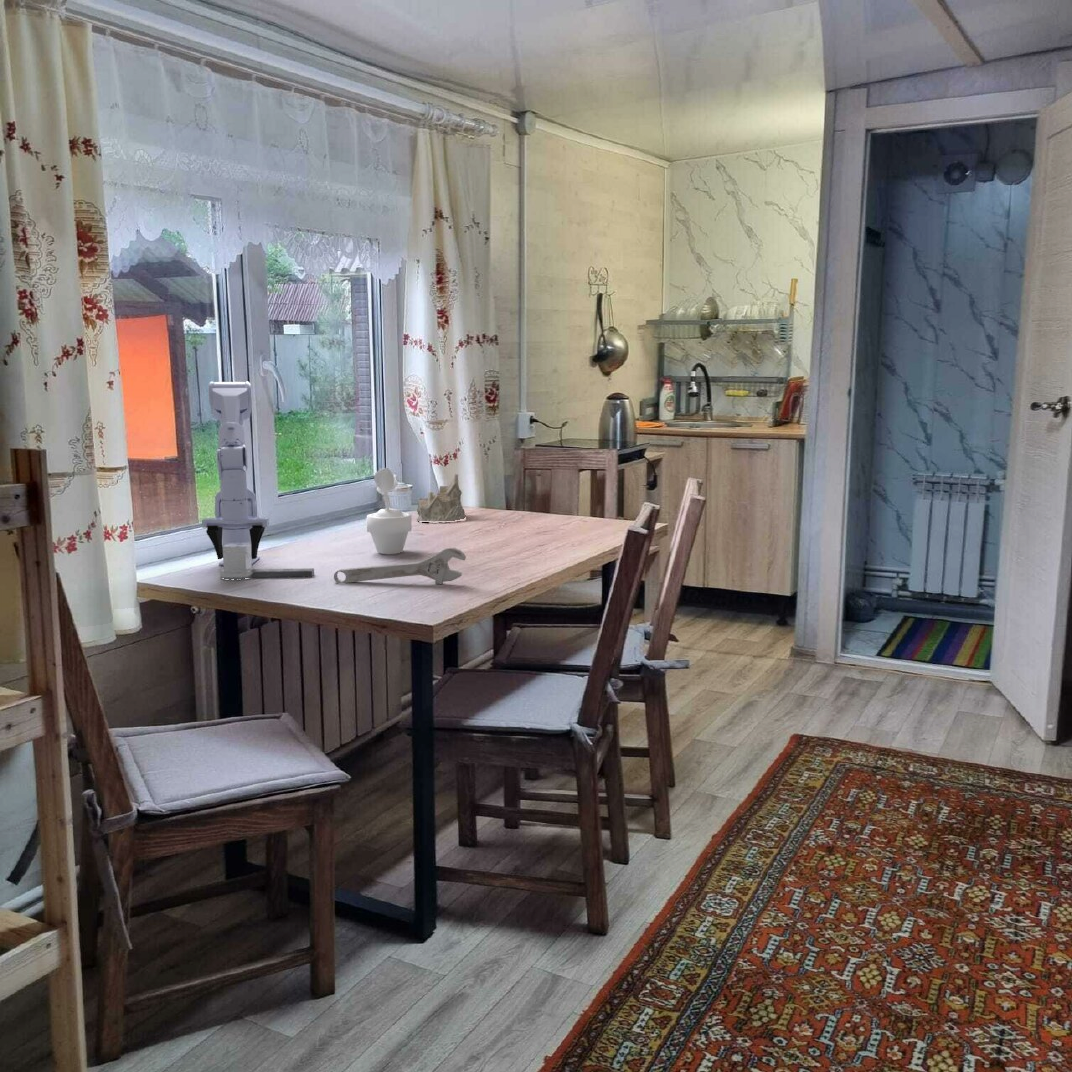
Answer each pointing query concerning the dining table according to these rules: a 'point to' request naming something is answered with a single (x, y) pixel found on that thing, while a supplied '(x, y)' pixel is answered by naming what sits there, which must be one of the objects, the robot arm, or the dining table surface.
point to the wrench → (408, 569)
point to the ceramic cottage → (442, 504)
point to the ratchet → (269, 573)
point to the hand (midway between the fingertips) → (237, 558)
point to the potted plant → (388, 518)
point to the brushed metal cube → (237, 557)
